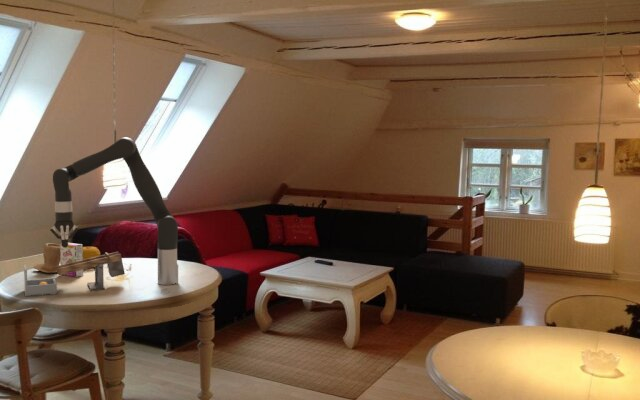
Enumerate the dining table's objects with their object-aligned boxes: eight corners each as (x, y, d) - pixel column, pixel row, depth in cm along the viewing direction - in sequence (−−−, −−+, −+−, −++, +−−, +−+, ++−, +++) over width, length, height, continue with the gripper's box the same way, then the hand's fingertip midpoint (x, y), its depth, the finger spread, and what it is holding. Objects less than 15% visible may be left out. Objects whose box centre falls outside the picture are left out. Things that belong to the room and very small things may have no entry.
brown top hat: (68, 272, 307) (67, 244, 306) (45, 275, 298) (44, 246, 297) (55, 267, 317) (54, 240, 316) (32, 271, 308) (32, 242, 307)
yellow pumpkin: (70, 267, 320) (70, 246, 319) (93, 264, 329) (93, 243, 328) (82, 270, 311) (82, 249, 310) (105, 267, 321) (104, 246, 320)
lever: (119, 268, 291) (115, 247, 289) (124, 274, 279) (120, 252, 277) (59, 283, 278) (54, 261, 276) (62, 290, 266) (57, 267, 264)
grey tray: (54, 287, 274) (54, 262, 273) (56, 293, 263) (56, 267, 262) (24, 290, 268) (23, 264, 267) (25, 296, 257) (24, 269, 255)
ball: (49, 283, 268) (40, 279, 267) (50, 284, 265) (41, 281, 263) (44, 290, 268) (36, 287, 266) (45, 292, 264) (36, 289, 262)
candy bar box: (59, 275, 300) (59, 243, 299) (67, 273, 305) (67, 242, 303) (75, 277, 295) (75, 245, 294) (83, 275, 300) (83, 244, 298)
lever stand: (100, 283, 284) (100, 259, 282) (104, 289, 272) (104, 264, 271) (87, 284, 281) (87, 260, 280) (91, 290, 269) (90, 265, 268)
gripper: (78, 209, 281) (79, 245, 282) (47, 210, 274) (48, 247, 276) (79, 211, 274) (80, 247, 276) (48, 212, 268) (50, 249, 269)
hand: (64, 247), depth 276 cm, fingers closed
